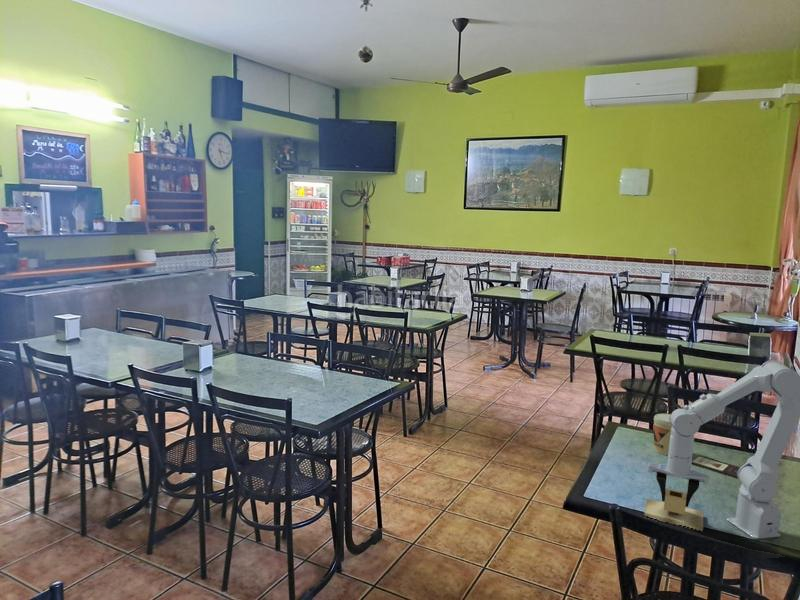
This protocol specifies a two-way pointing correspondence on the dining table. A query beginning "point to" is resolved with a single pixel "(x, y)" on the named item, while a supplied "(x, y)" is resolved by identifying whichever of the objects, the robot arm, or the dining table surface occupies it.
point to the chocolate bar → (717, 466)
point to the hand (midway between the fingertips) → (675, 502)
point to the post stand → (674, 515)
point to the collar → (675, 501)
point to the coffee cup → (662, 433)
